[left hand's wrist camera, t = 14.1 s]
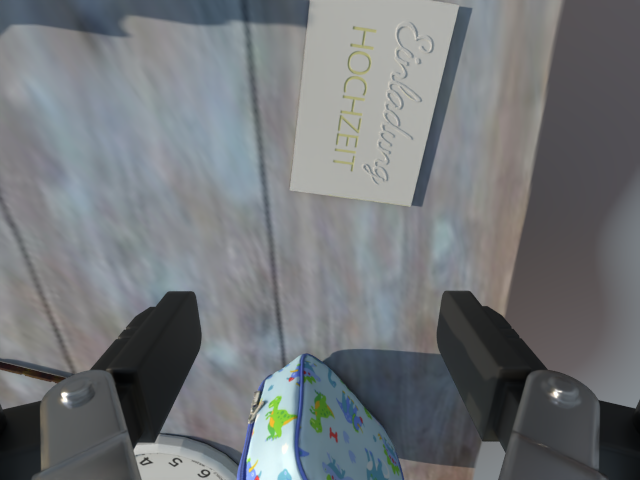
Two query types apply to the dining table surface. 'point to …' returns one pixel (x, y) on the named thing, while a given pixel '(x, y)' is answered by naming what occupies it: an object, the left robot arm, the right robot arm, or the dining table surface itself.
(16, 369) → the brown stick
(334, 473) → the lunch box
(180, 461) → the wall clock
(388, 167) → the invitation card
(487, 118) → the dining table surface
